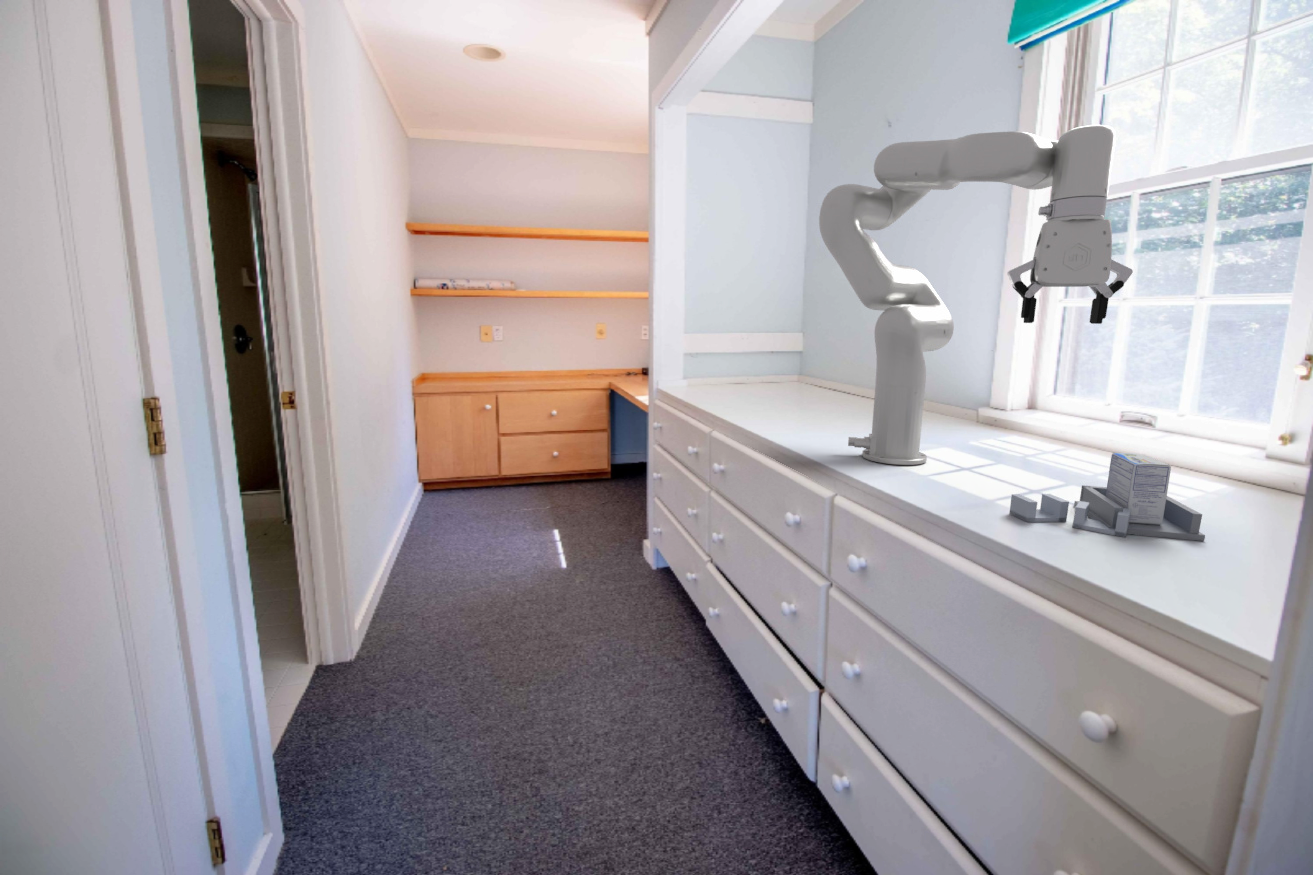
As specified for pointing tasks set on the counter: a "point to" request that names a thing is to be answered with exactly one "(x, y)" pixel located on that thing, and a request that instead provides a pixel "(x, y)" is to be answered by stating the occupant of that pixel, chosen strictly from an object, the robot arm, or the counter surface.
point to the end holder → (1175, 524)
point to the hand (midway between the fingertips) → (1061, 323)
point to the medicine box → (1139, 486)
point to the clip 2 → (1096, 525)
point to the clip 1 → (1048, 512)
